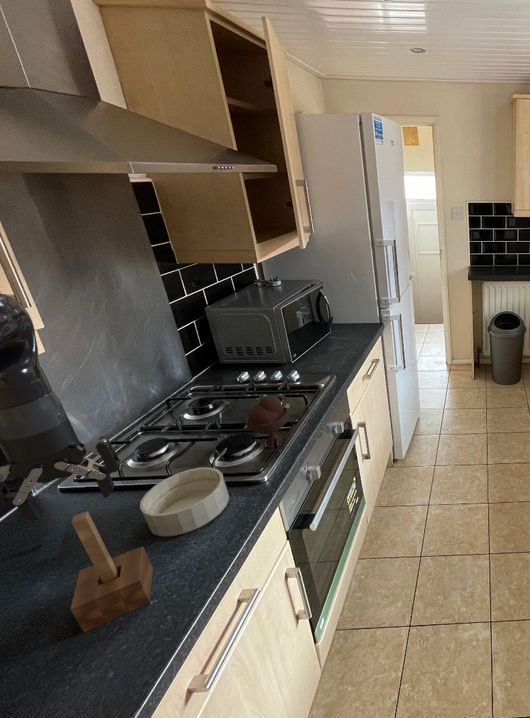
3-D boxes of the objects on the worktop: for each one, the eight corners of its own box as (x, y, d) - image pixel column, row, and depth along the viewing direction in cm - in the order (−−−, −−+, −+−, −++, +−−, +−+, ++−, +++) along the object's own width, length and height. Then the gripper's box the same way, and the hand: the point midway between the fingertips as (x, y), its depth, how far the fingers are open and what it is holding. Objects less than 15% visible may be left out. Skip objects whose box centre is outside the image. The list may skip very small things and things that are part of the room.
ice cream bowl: (278, 427, 128) (268, 385, 123) (302, 438, 123) (292, 394, 118) (244, 446, 120) (231, 401, 114) (268, 458, 115) (256, 412, 109)
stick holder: (83, 632, 72) (70, 609, 70) (92, 592, 79) (79, 570, 76) (150, 602, 77) (139, 580, 75) (153, 567, 84) (143, 545, 81)
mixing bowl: (147, 550, 87) (137, 527, 85) (151, 506, 99) (142, 484, 96) (232, 517, 96) (225, 495, 93) (227, 479, 107) (220, 459, 105)
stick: (114, 604, 77) (71, 522, 69) (115, 596, 78) (73, 515, 70) (126, 598, 78) (86, 517, 70) (127, 591, 79) (87, 511, 71)
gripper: (98, 398, 70) (131, 475, 76) (-31, 428, 62) (18, 511, 68) (91, 419, 64) (127, 500, 70) (-52, 454, 56) (3, 541, 63)
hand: (73, 505), depth 69 cm, fingers open, 8 cm apart
